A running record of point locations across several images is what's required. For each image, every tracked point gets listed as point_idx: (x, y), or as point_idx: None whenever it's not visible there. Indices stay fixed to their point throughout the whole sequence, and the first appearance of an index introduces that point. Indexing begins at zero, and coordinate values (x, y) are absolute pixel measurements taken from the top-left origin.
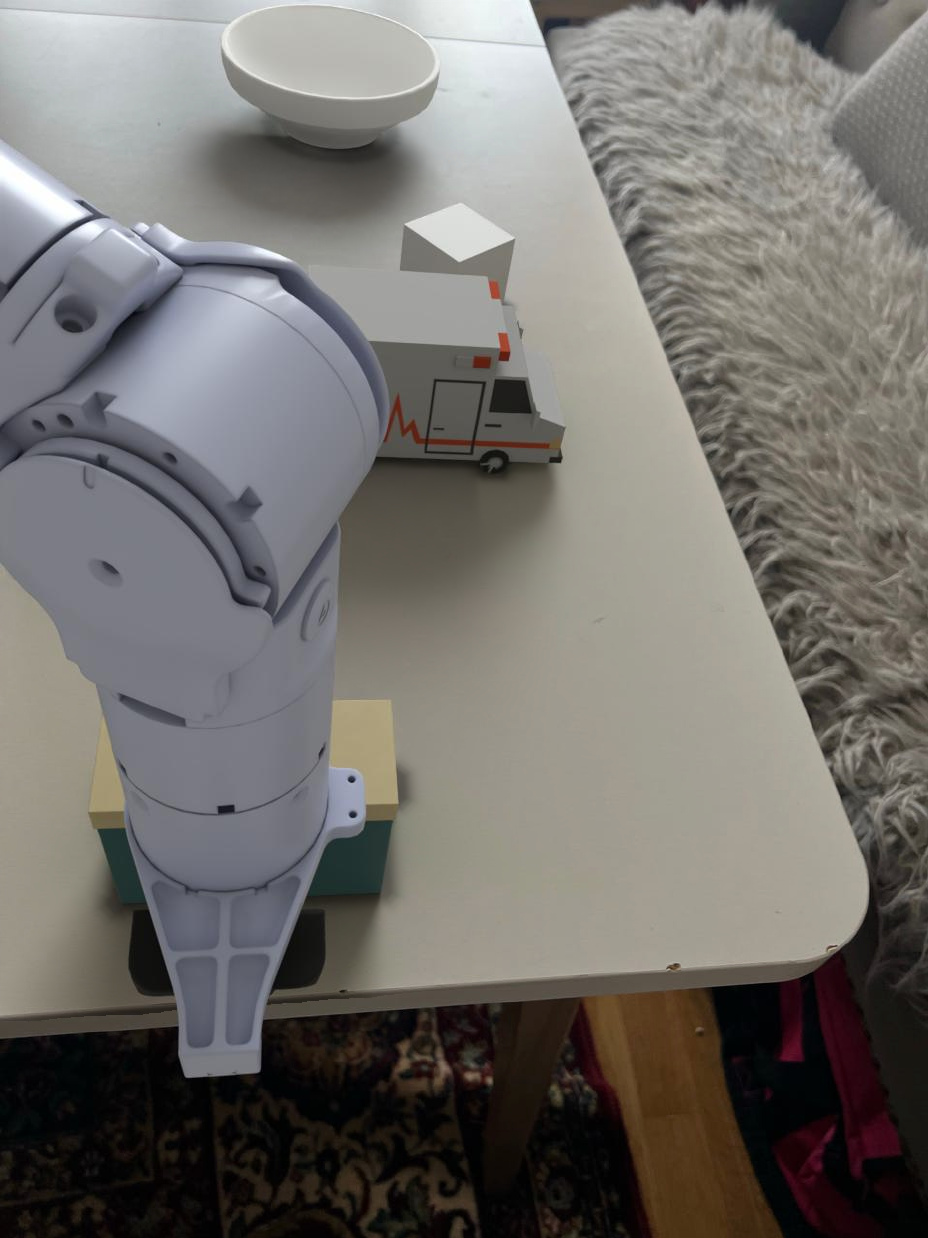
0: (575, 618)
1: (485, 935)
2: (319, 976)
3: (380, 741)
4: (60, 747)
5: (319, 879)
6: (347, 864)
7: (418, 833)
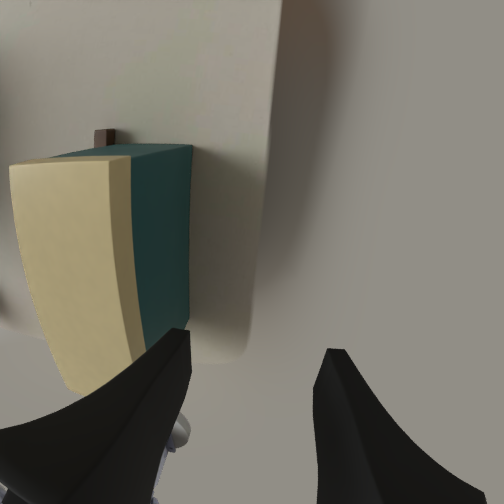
0: (25, 17)
1: (240, 66)
2: (485, 500)
3: (42, 179)
4: None
5: (180, 201)
6: (171, 184)
7: (146, 111)
